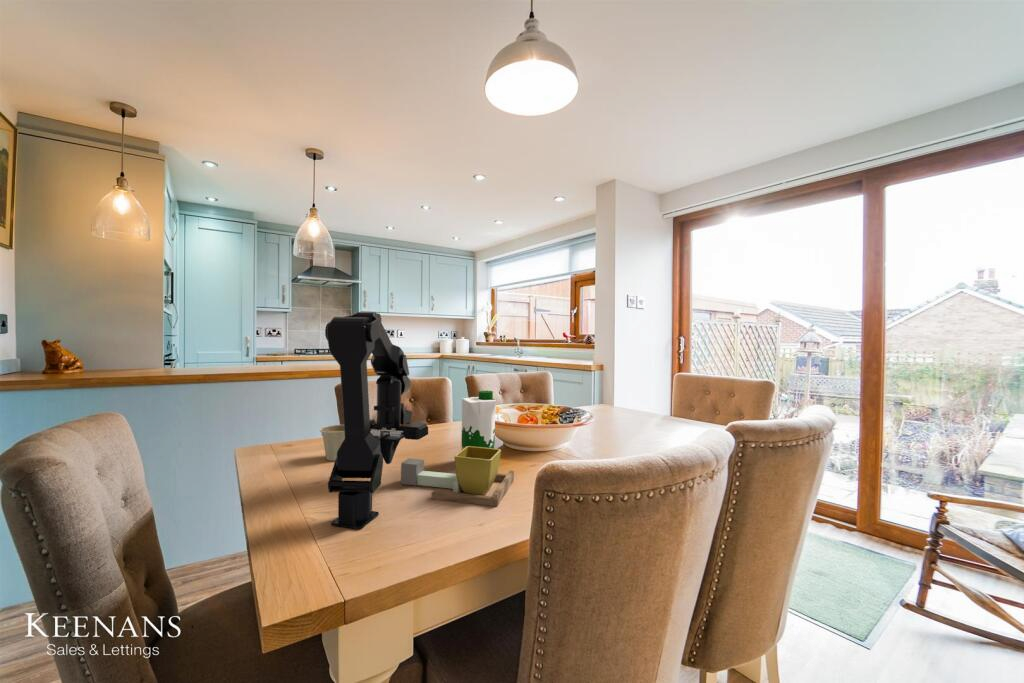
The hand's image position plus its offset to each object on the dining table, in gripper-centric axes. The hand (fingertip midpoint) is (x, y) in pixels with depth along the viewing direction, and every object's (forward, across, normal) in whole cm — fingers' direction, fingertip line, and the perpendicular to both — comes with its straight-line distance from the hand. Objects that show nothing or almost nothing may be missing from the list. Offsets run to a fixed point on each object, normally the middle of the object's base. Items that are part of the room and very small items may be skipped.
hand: (388, 463), depth 101 cm
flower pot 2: (+4, -23, 0) cm, 24 cm away
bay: (+4, -22, 0) cm, 22 cm away
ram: (+4, -12, 0) cm, 13 cm away
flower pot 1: (+4, +23, -12) cm, 26 cm away
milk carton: (+4, -17, -19) cm, 26 cm away
